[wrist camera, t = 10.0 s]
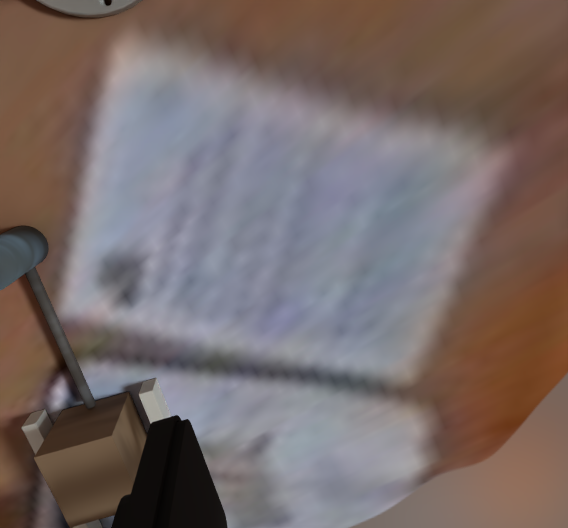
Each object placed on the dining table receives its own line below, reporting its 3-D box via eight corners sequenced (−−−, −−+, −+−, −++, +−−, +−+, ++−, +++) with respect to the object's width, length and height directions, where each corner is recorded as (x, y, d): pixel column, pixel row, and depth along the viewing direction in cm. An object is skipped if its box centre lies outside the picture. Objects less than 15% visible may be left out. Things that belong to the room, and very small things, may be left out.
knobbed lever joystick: (-21, 236, 35) (-70, 258, 30) (56, 216, 36) (22, 233, 30) (92, 473, 42) (69, 527, 37) (155, 455, 43) (143, 506, 37)
